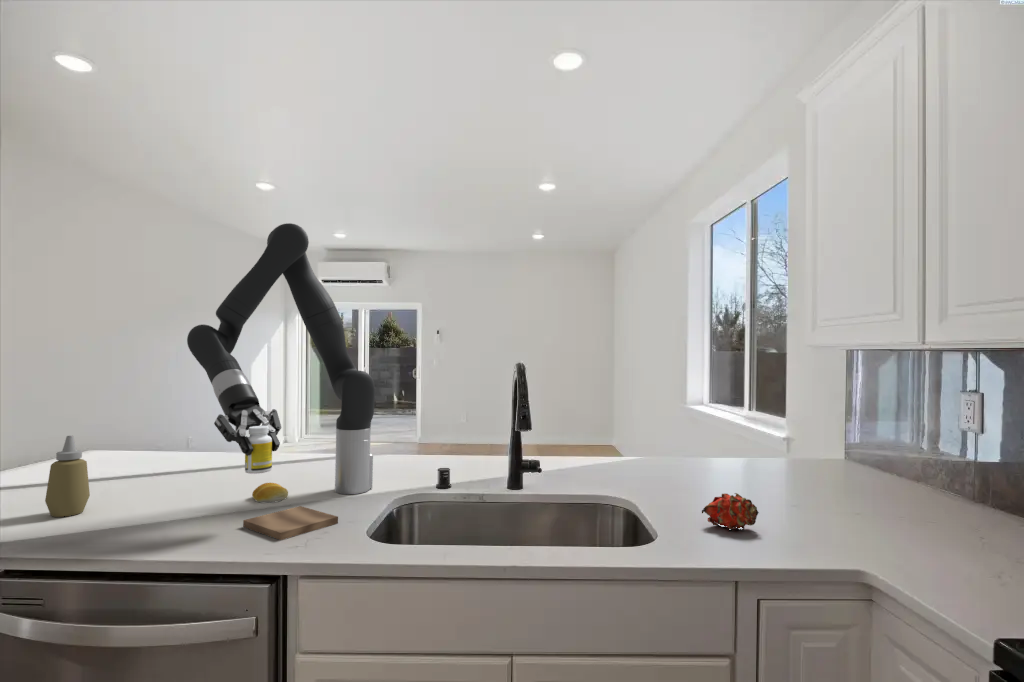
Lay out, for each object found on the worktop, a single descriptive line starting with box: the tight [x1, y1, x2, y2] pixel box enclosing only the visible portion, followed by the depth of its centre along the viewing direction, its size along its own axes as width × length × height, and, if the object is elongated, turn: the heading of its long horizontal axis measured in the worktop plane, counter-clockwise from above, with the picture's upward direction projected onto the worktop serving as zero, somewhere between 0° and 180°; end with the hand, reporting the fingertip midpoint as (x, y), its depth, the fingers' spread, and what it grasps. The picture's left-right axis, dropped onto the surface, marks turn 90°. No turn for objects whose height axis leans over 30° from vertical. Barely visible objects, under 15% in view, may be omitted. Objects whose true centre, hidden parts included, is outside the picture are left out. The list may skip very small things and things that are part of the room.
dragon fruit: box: [701, 492, 760, 530], centre depth 123 cm, size 8×8×12 cm
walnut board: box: [242, 505, 339, 541], centre depth 121 cm, size 14×14×2 cm
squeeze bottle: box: [44, 435, 91, 518], centre depth 128 cm, size 8×8×18 cm
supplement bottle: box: [244, 425, 273, 475], centre depth 121 cm, size 5×5×10 cm
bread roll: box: [251, 482, 289, 503], centre depth 143 cm, size 8×9×4 cm
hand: (263, 450), depth 120 cm, fingers closed on supplement bottle, 5 cm apart
